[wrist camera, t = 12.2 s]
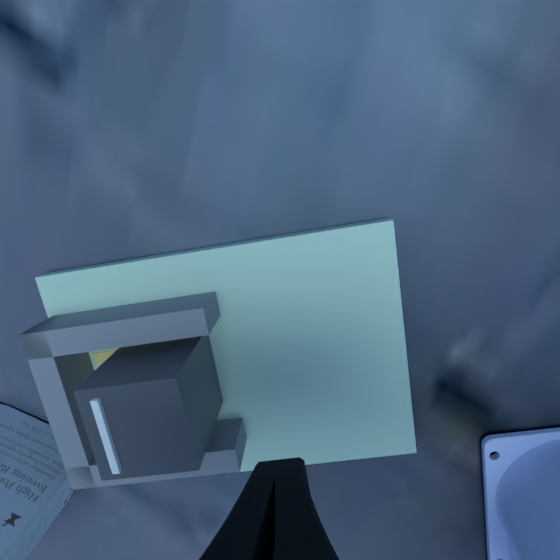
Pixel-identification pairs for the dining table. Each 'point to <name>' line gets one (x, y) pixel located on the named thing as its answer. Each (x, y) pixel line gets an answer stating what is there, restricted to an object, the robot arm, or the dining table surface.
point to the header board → (245, 345)
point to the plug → (151, 408)
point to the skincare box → (28, 482)
